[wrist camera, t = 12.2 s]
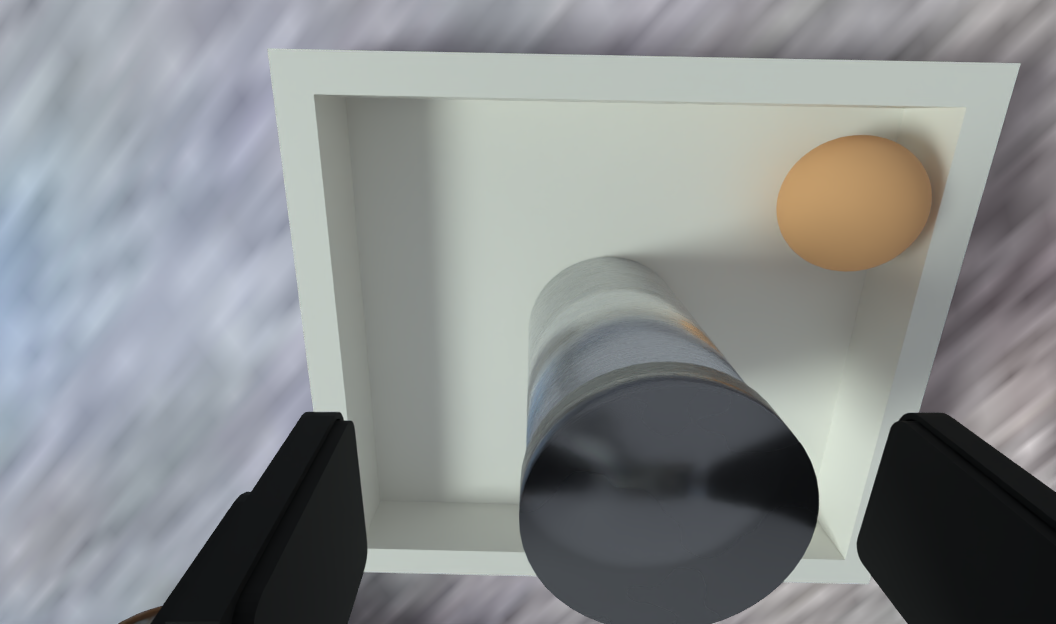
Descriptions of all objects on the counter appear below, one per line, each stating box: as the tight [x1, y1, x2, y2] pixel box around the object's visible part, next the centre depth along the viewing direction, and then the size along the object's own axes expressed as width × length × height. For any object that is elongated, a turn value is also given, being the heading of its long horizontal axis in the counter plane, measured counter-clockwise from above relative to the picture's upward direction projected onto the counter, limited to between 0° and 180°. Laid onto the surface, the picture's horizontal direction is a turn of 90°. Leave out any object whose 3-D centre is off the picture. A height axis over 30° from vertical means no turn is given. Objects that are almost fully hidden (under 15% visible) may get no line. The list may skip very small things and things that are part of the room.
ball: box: [776, 135, 932, 272], centre depth 15 cm, size 4×4×4 cm
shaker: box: [519, 257, 819, 624], centre depth 14 cm, size 5×5×9 cm
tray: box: [268, 49, 1021, 584], centre depth 17 cm, size 16×18×3 cm
